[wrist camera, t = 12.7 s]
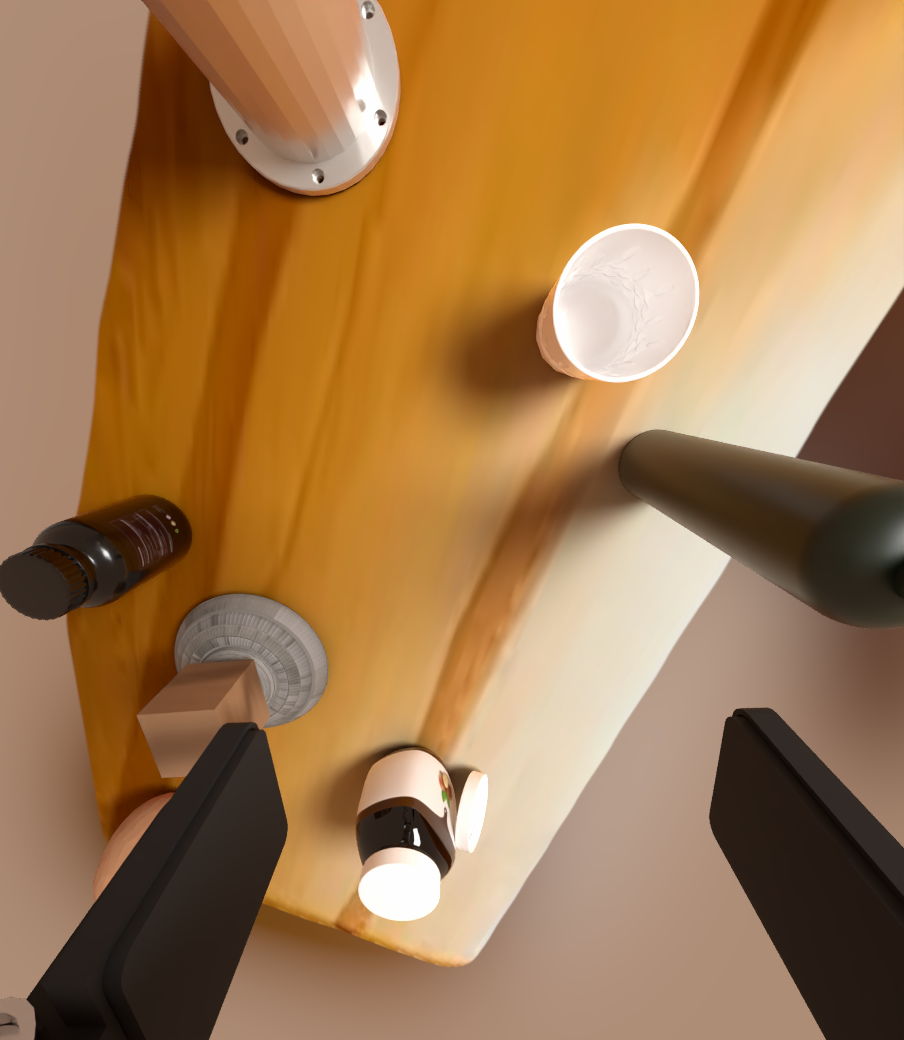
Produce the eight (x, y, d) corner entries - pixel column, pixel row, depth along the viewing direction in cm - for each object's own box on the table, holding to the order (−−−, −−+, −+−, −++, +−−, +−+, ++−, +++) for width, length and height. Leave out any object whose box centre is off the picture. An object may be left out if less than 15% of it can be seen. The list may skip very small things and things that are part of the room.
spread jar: (361, 751, 46) (327, 867, 35) (455, 714, 44) (451, 824, 33) (414, 826, 49) (399, 956, 38) (504, 795, 47) (516, 921, 36)
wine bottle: (677, 417, 35) (1699, 561, 6) (696, 481, 36) (1590, 843, 7) (608, 447, 35) (1208, 699, 7) (630, 508, 37) (1200, 926, 8)
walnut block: (187, 664, 37) (136, 715, 31) (253, 659, 37) (214, 709, 31) (206, 720, 39) (161, 777, 33) (270, 715, 39) (236, 773, 33)
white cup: (643, 359, 33) (714, 347, 24) (547, 399, 34) (578, 404, 25) (614, 253, 31) (679, 194, 22) (513, 300, 32) (532, 264, 23)
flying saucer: (247, 735, 46) (219, 780, 41) (153, 629, 43) (109, 663, 37) (361, 678, 43) (347, 718, 38) (271, 560, 40) (242, 586, 35)
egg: (157, 823, 50) (75, 937, 39) (143, 772, 48) (54, 879, 37) (221, 825, 50) (156, 941, 39) (210, 774, 47) (139, 883, 37)
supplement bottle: (150, 574, 40) (24, 648, 29) (106, 510, 39) (-47, 562, 27) (210, 548, 39) (105, 614, 28) (168, 481, 38) (37, 522, 26)
